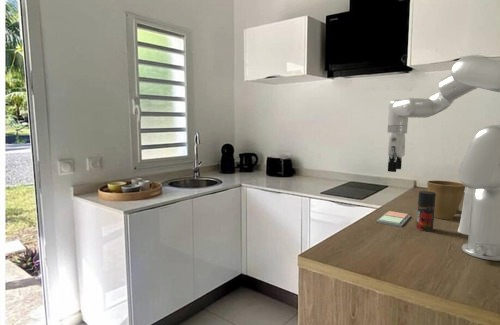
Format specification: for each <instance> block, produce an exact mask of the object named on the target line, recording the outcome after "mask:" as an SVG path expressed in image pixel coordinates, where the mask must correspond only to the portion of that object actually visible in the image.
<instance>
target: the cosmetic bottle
mask: <svg viewBox="0 0 500 325" xmlns="http://www.w3.org/2000/svg"><path fill="white" fill-rule="evenodd" d="M474 190H475V189H470V188H468V187H465V191H464V193H463V200H462V201H463V202H462V209H461V216H460V221H459V226H458V228H457V233H459V234H460V235H466V236H469V225H470V214H471V205H472V197H473V193H474Z"/></svg>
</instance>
